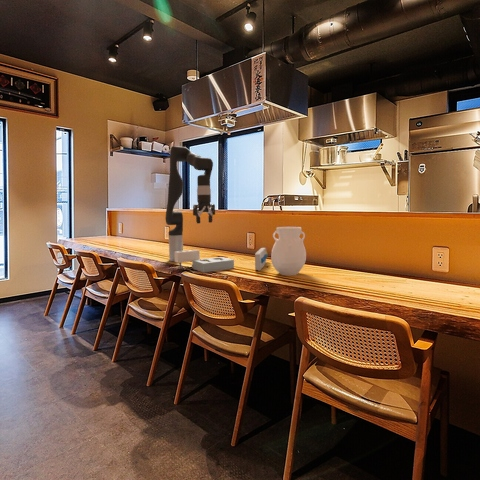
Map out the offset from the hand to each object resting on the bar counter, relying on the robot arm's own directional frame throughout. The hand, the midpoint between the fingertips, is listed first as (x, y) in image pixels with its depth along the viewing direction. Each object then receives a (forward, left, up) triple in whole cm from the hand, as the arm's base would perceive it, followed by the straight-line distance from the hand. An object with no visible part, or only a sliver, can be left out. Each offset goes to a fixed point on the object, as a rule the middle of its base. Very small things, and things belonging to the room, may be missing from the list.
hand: (204, 222), depth 194 cm
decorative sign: (+9, +34, -28) cm, 45 cm away
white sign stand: (-14, -5, -27) cm, 31 cm away
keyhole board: (-2, +6, -27) cm, 28 cm away
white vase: (+35, +31, -27) cm, 55 cm away
